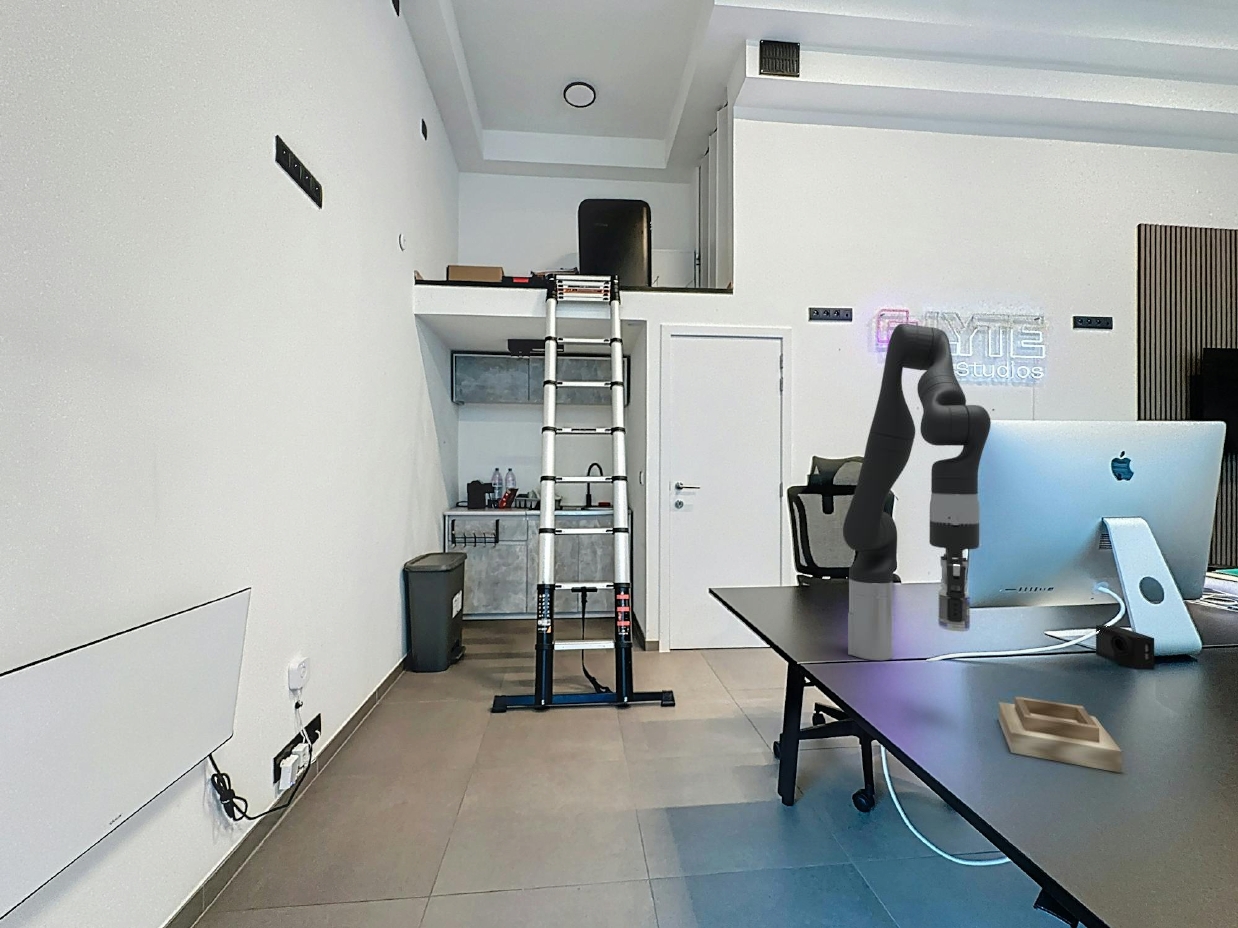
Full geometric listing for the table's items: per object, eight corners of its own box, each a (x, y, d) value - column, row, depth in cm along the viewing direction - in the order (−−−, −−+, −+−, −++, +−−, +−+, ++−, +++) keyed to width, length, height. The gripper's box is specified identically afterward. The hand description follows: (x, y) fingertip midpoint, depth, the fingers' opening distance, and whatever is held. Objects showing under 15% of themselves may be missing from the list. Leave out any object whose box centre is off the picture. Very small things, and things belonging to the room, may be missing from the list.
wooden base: (1011, 752, 87) (1011, 719, 87) (998, 719, 99) (998, 690, 99) (1121, 772, 81) (1121, 736, 81) (1094, 735, 93) (1094, 703, 93)
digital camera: (1090, 654, 135) (1089, 624, 135) (1113, 654, 135) (1113, 624, 135) (1129, 669, 125) (1128, 637, 125) (1154, 669, 124) (1154, 637, 125)
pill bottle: (974, 632, 98) (974, 583, 98) (943, 630, 99) (943, 581, 99) (963, 625, 102) (963, 577, 103) (934, 623, 103) (934, 576, 104)
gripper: (928, 515, 109) (927, 606, 109) (930, 521, 96) (930, 624, 96) (975, 517, 105) (974, 611, 105) (984, 524, 93) (983, 630, 93)
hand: (953, 617), depth 101 cm, fingers closed on pill bottle, 4 cm apart
